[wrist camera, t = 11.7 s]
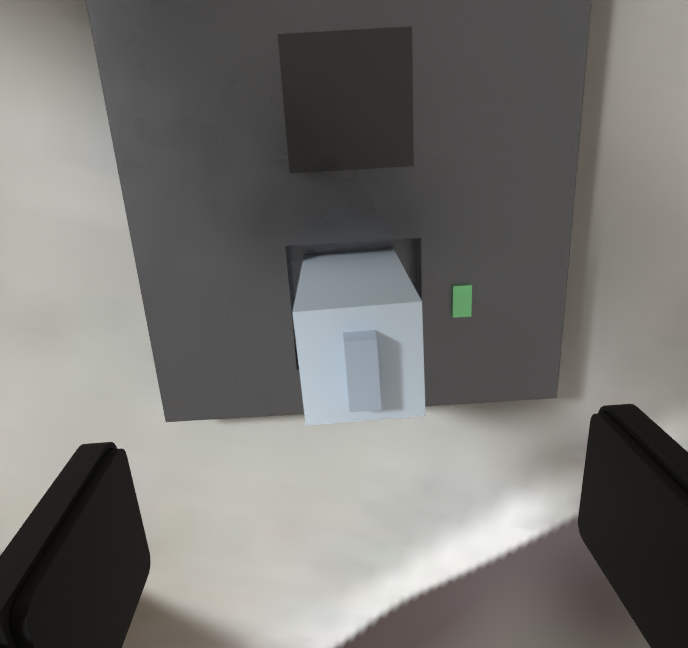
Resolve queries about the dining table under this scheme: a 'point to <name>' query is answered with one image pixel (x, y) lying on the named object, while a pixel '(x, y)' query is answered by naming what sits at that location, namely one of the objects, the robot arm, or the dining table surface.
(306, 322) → the plug
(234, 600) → the dining table surface
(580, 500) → the robot arm
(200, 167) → the switch board
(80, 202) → the dining table surface
